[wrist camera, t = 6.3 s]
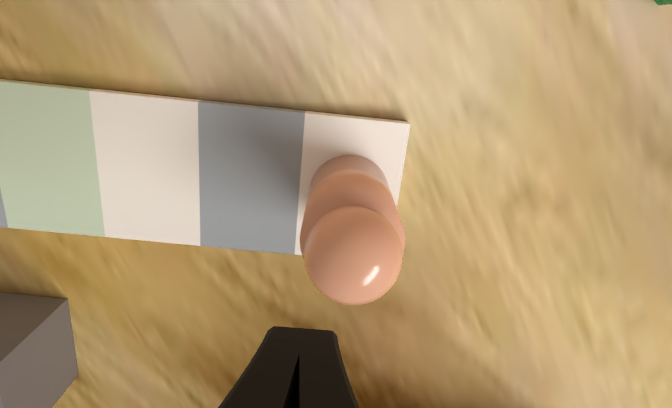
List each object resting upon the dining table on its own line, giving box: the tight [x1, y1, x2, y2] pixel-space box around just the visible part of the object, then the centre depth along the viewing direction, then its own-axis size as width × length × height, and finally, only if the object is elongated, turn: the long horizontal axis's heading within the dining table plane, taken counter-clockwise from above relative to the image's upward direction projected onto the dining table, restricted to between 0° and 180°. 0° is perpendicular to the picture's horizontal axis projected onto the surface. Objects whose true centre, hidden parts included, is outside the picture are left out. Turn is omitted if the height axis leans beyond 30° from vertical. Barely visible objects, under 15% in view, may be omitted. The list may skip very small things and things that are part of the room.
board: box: [0, 79, 411, 255], centre depth 17 cm, size 20×6×1 cm, turn 84°
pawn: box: [300, 155, 405, 305], centre depth 14 cm, size 3×3×7 cm
